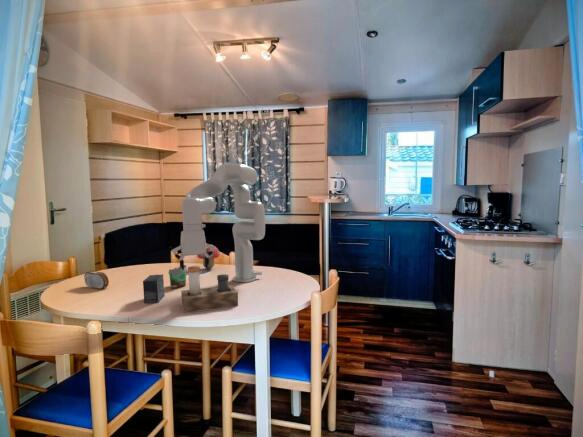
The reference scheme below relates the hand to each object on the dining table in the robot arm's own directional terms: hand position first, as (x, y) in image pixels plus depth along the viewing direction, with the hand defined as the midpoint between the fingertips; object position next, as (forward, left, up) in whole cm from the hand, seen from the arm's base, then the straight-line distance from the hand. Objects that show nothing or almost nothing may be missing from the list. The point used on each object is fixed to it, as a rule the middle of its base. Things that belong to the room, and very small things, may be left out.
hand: (194, 267), depth 153 cm
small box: (+16, -17, -17) cm, 29 cm away
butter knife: (-33, -11, -17) cm, 39 cm away
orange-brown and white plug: (0, 0, -12) cm, 12 cm away
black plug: (-12, 0, -16) cm, 20 cm away
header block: (-6, 0, -17) cm, 18 cm away
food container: (+3, -35, -17) cm, 39 cm away
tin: (+43, -49, -17) cm, 67 cm away
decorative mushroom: (-16, -68, -17) cm, 71 cm away
